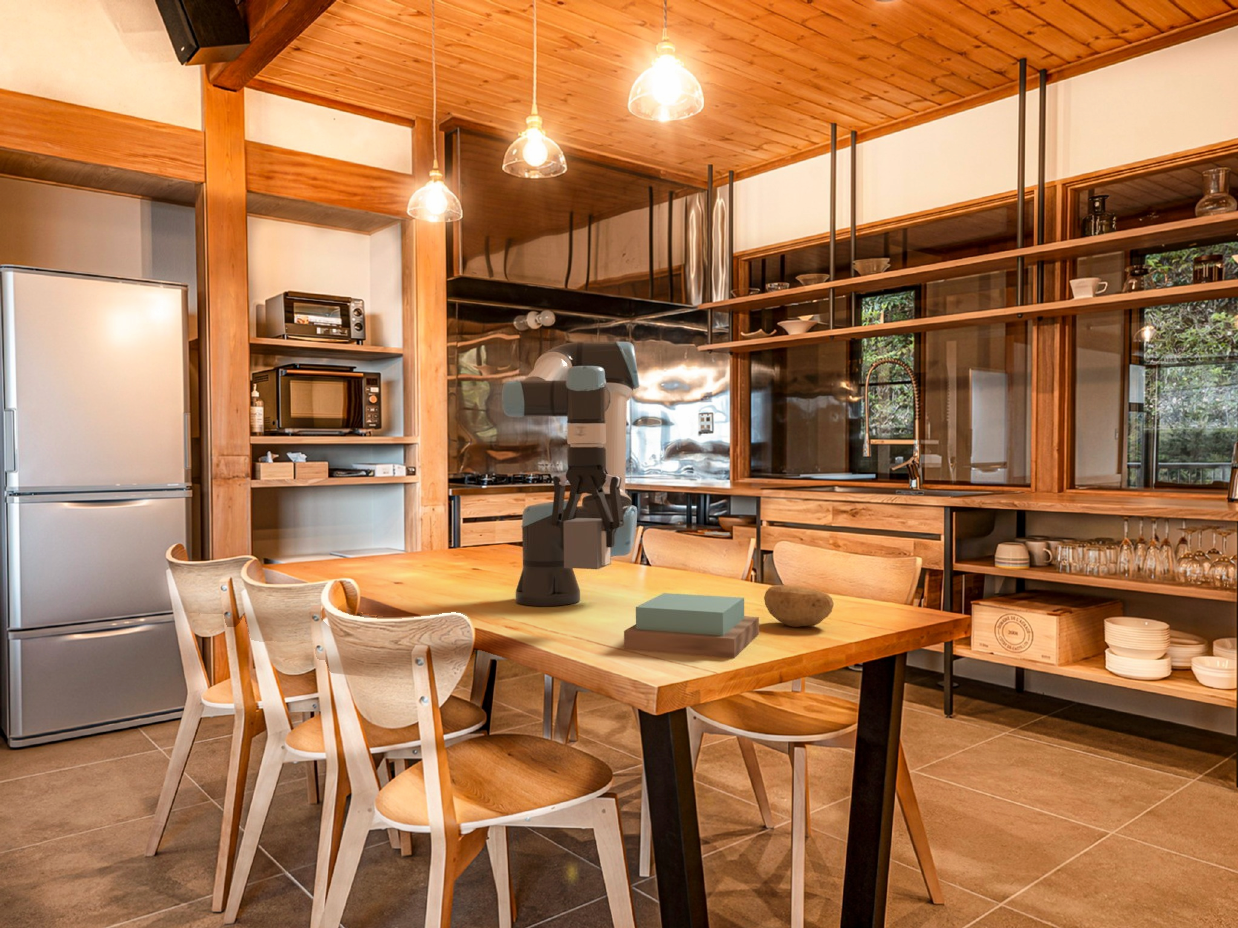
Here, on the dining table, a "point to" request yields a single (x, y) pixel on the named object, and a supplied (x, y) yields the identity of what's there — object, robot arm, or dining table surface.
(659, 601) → the block top
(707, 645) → the block bottom
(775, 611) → the potato
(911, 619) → the dining table surface
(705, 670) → the dining table surface
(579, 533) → the block
